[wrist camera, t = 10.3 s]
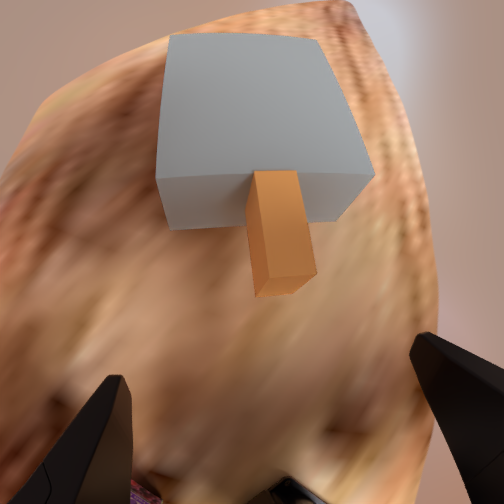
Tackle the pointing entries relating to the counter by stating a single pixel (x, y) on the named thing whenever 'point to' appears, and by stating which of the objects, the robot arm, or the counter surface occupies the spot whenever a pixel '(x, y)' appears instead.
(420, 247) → the counter surface
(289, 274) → the grey boxy piece
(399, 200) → the counter surface
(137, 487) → the snack box
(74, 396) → the counter surface
